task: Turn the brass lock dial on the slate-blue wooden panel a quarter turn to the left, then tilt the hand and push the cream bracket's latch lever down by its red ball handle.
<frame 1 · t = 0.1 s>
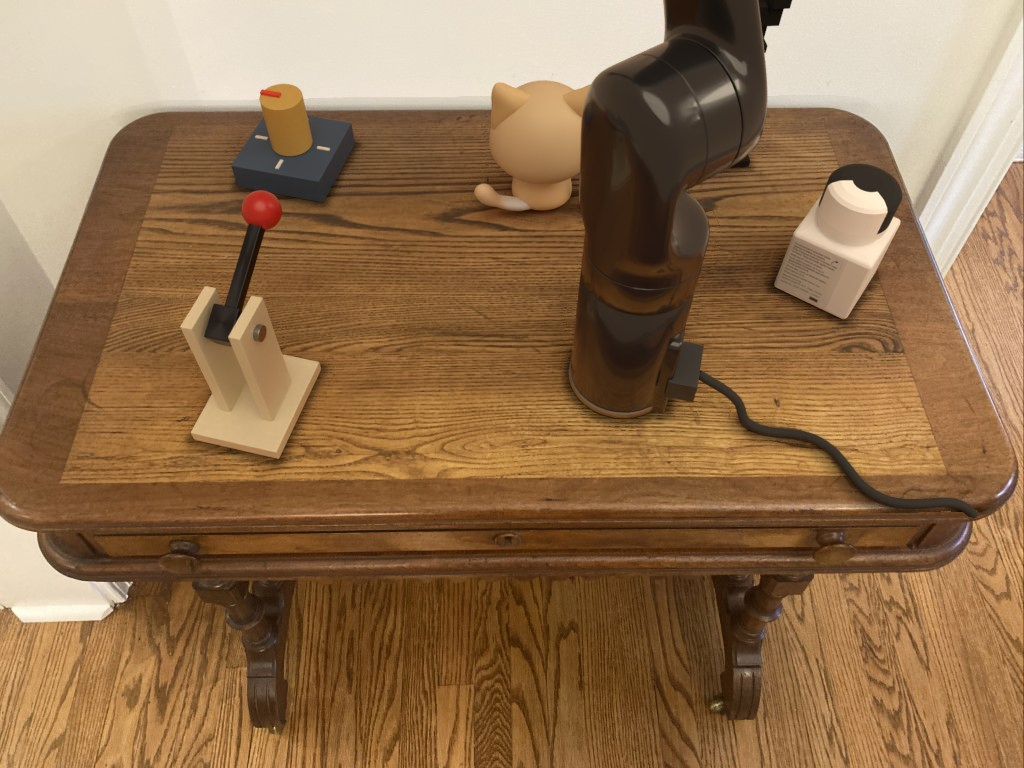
chess piece: (705, 146, 99), on the table
container: (822, 282, 87), on the table
dial: (286, 119, 91), point 6 cm above the table, hinge at 0.0°
kitten: (545, 198, 93), on the table
latch: (245, 266, 69), point 13 cm above the table, hinge at 25.0°
latch bracket: (259, 403, 77), on the table
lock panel: (297, 165, 96), on the table
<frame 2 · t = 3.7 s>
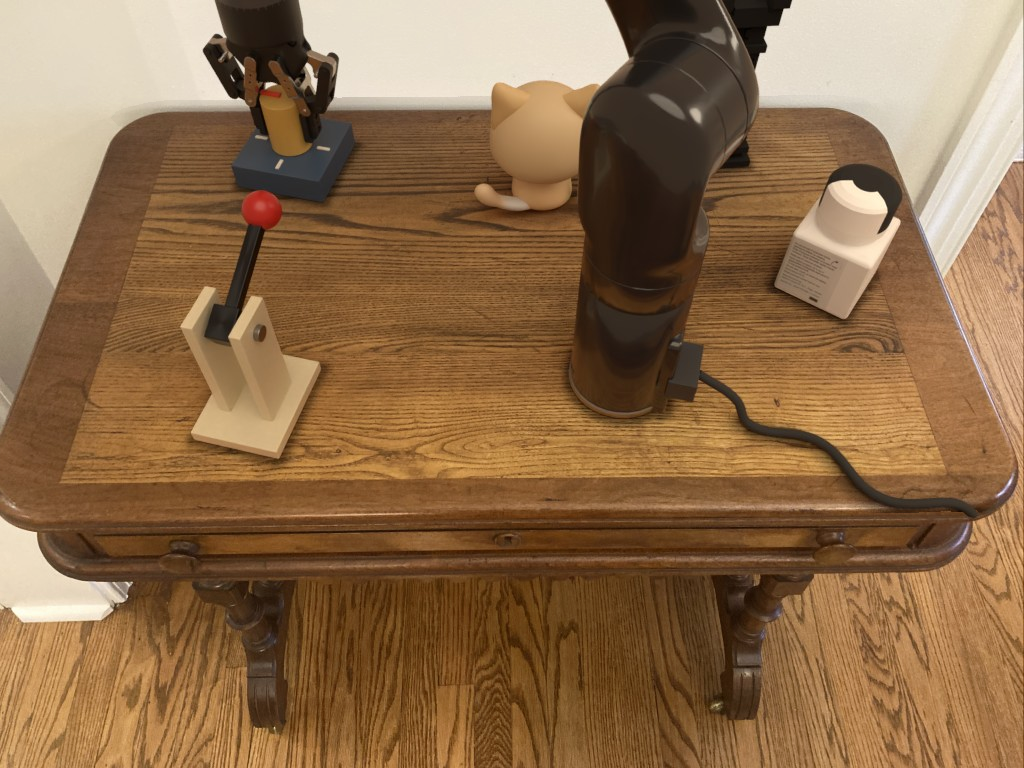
hand: (290, 133, 92), 4 cm above the table, tool pointing down, fingers closed on dial, 4 cm apart
dial: (286, 119, 91), point 6 cm above the table, hinge at 0.0°, touching gripper
everything else where it was.
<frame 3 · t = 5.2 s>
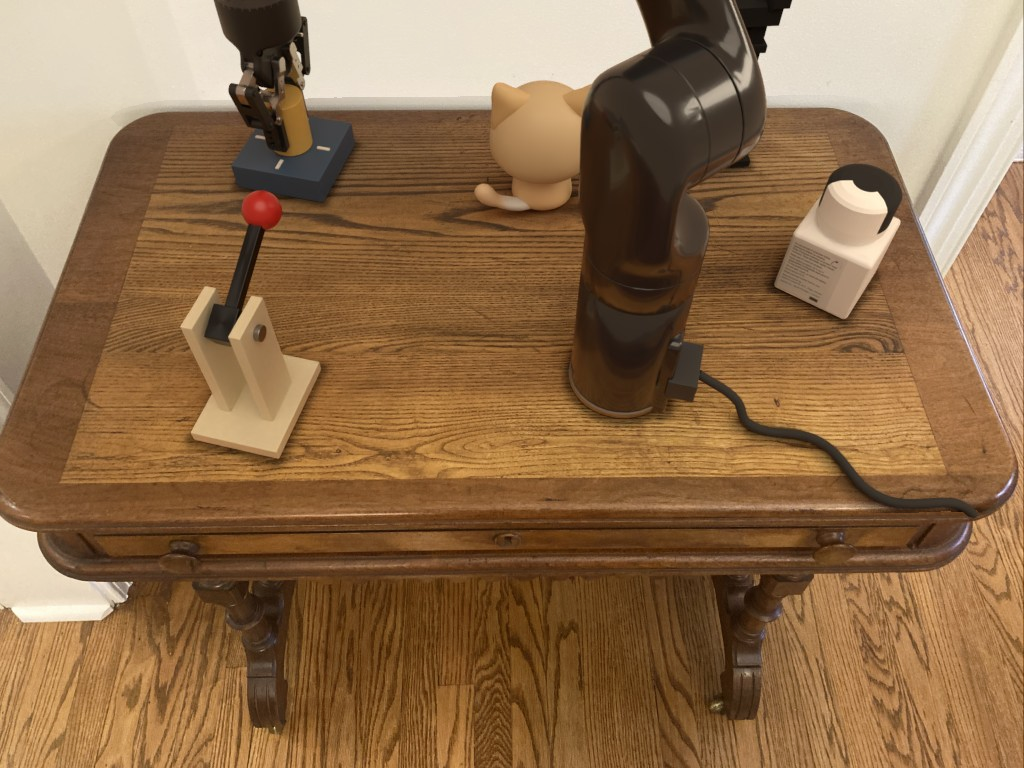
hand: (289, 133, 92), 4 cm above the table, tool pointing down, fingers open, 4 cm apart
dial: (286, 119, 91), point 6 cm above the table, hinge at 92.0°
everything else where it was.
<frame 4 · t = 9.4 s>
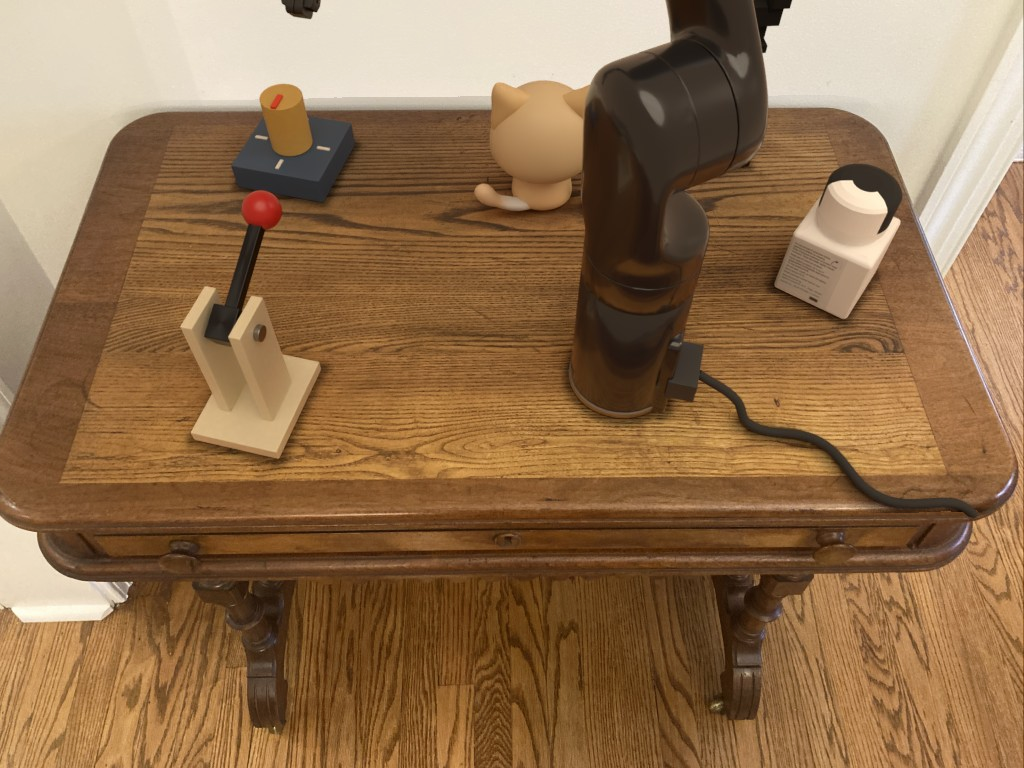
hand: (298, 15, 69), 25 cm above the table, tool tilted 45°, fingers closed
nothing on the table moved.
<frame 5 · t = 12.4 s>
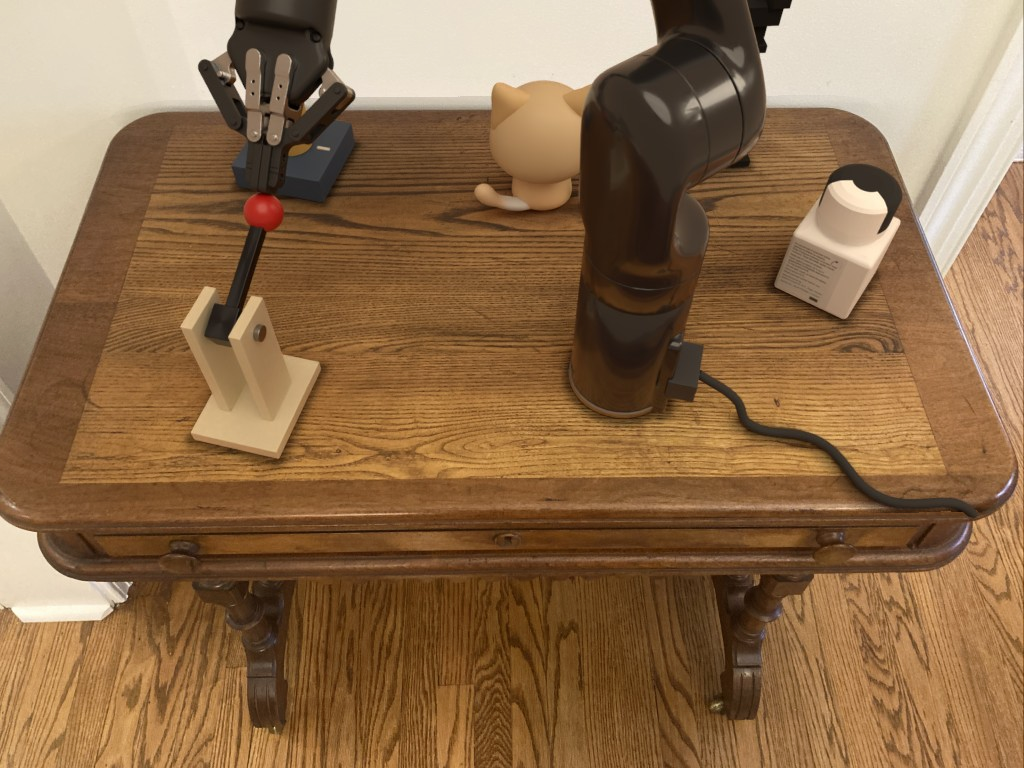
hand: (263, 192, 70), 16 cm above the table, tool tilted 45°, fingers closed
latch: (246, 267, 69), point 13 cm above the table, hinge at 22.5°, touching gripper
everything else where it was.
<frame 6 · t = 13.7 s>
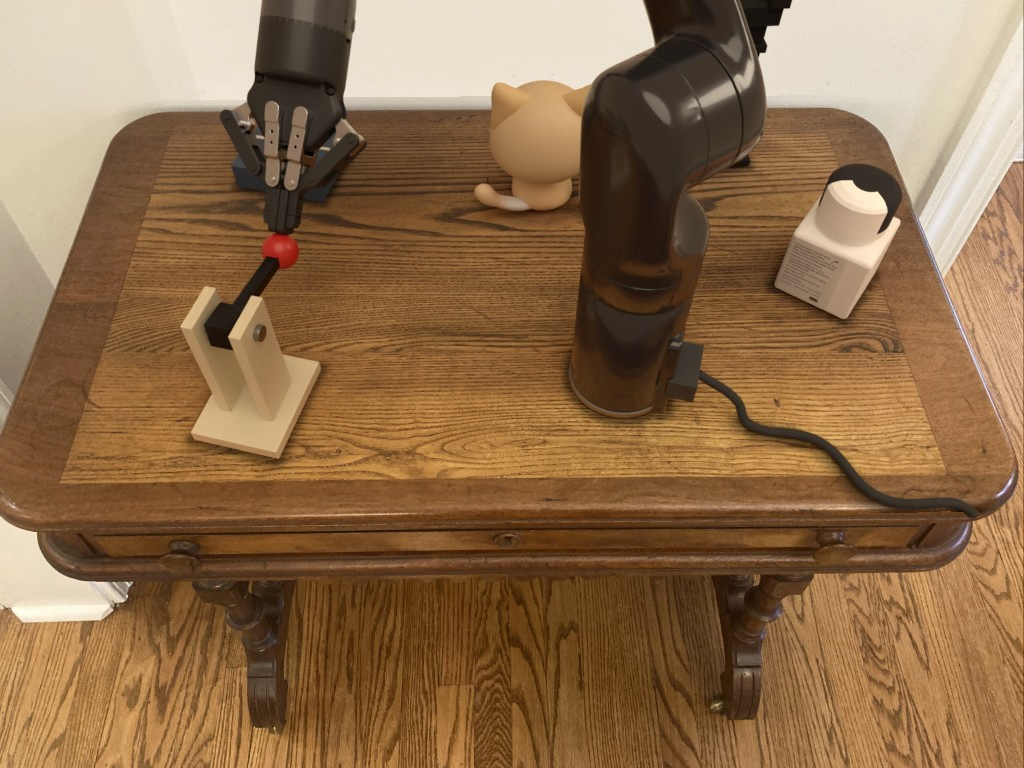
hand: (280, 232, 75), 11 cm above the table, tool tilted 45°, fingers closed
latch: (255, 286, 72), point 10 cm above the table, hinge at -7.8°, touching gripper
everything else where it was.
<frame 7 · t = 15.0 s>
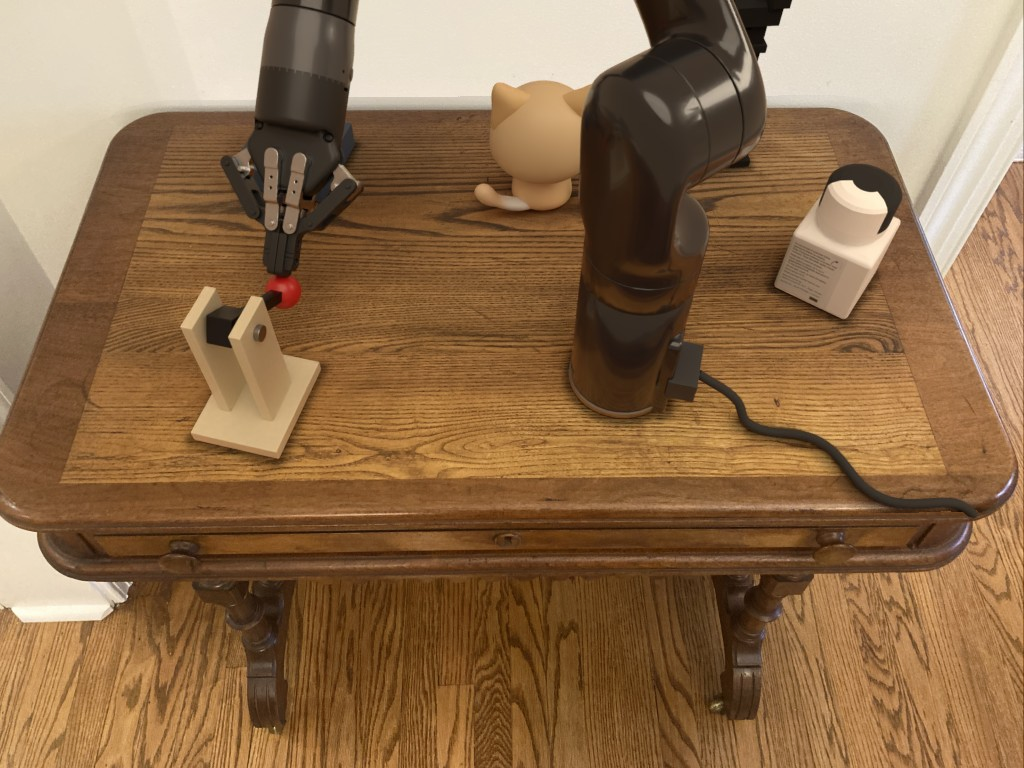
hand: (279, 274, 76), 8 cm above the table, tool tilted 45°, fingers closed
latch: (257, 307, 73), point 8 cm above the table, hinge at -31.1°, touching gripper
everything else where it was.
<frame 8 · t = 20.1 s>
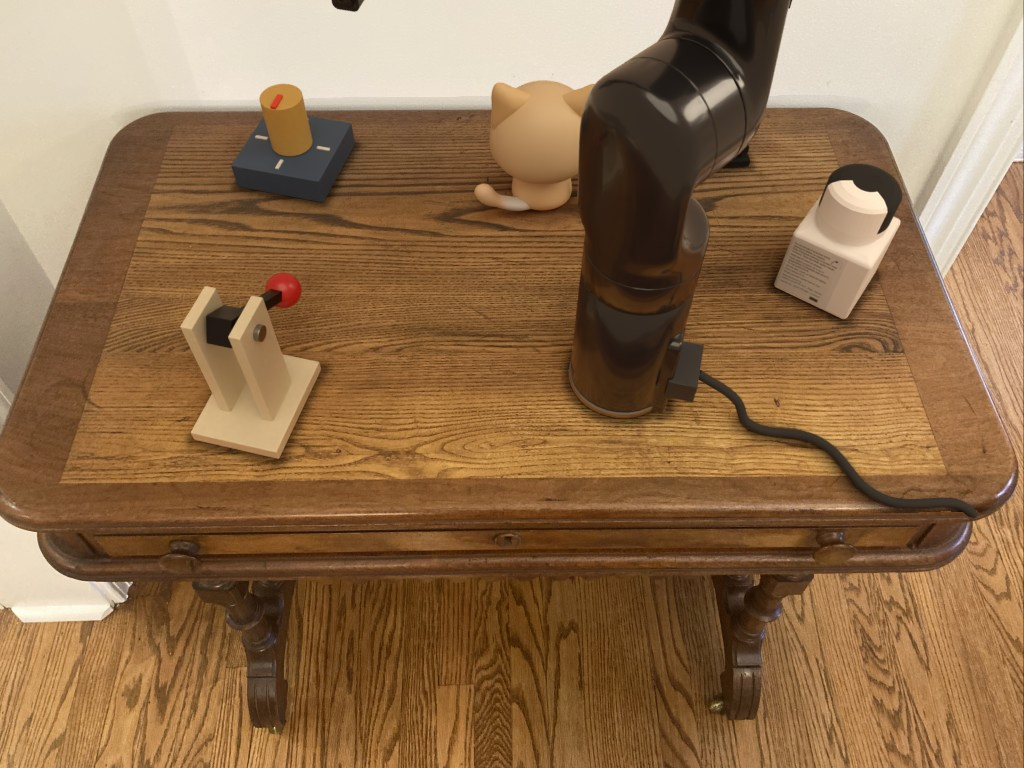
hand: (349, 5, 66), 27 cm above the table, tool pointing down, fingers closed
latch: (257, 306, 73), point 8 cm above the table, hinge at -30.6°
everything else where it was.
at the end: dial at +92° (first picture: +0°); latch at -31° (first picture: +25°) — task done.
